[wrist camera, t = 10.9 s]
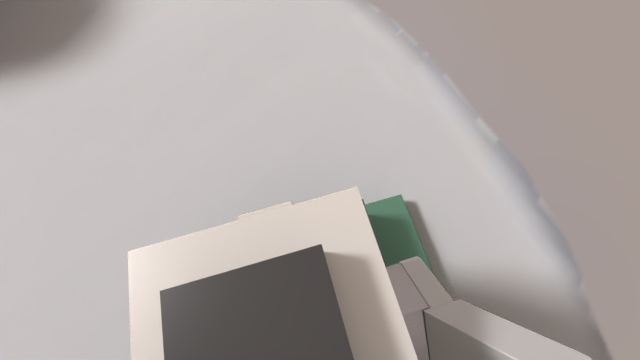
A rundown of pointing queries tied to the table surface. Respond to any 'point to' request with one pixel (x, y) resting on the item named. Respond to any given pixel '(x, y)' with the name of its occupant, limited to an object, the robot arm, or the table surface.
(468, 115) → the table surface
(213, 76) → the table surface
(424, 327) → the robot arm
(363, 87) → the table surface
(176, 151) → the table surface
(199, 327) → the plug
